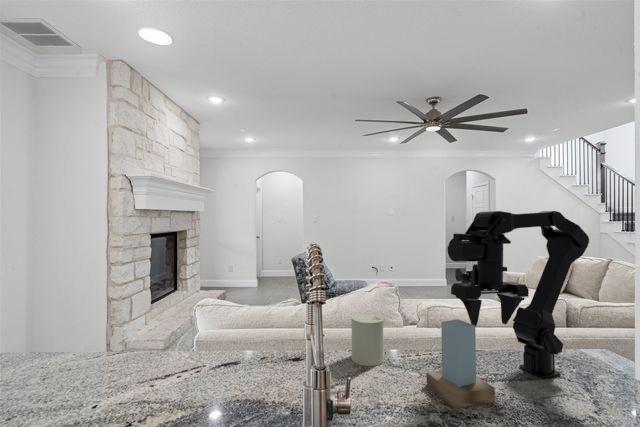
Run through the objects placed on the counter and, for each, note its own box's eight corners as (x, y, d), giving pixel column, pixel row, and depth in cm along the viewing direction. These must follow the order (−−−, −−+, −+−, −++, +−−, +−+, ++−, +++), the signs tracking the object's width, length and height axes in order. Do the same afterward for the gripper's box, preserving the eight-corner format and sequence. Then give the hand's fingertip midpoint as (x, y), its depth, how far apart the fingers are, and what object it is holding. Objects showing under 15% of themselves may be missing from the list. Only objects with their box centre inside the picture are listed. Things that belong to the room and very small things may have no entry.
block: (458, 372, 75) (457, 319, 76) (476, 382, 71) (475, 325, 71) (442, 376, 73) (441, 321, 74) (458, 387, 69) (457, 328, 69)
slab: (463, 379, 78) (463, 367, 78) (494, 402, 68) (494, 387, 68) (426, 384, 76) (426, 372, 76) (454, 408, 66) (453, 394, 66)
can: (384, 367, 85) (383, 322, 85) (349, 364, 87) (349, 320, 87) (384, 353, 94) (383, 312, 94) (352, 351, 96) (352, 310, 96)
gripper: (494, 258, 90) (493, 314, 89) (437, 258, 85) (436, 317, 84) (530, 262, 79) (530, 326, 79) (467, 263, 74) (466, 331, 73)
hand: (489, 324), depth 79 cm, fingers open, 9 cm apart
